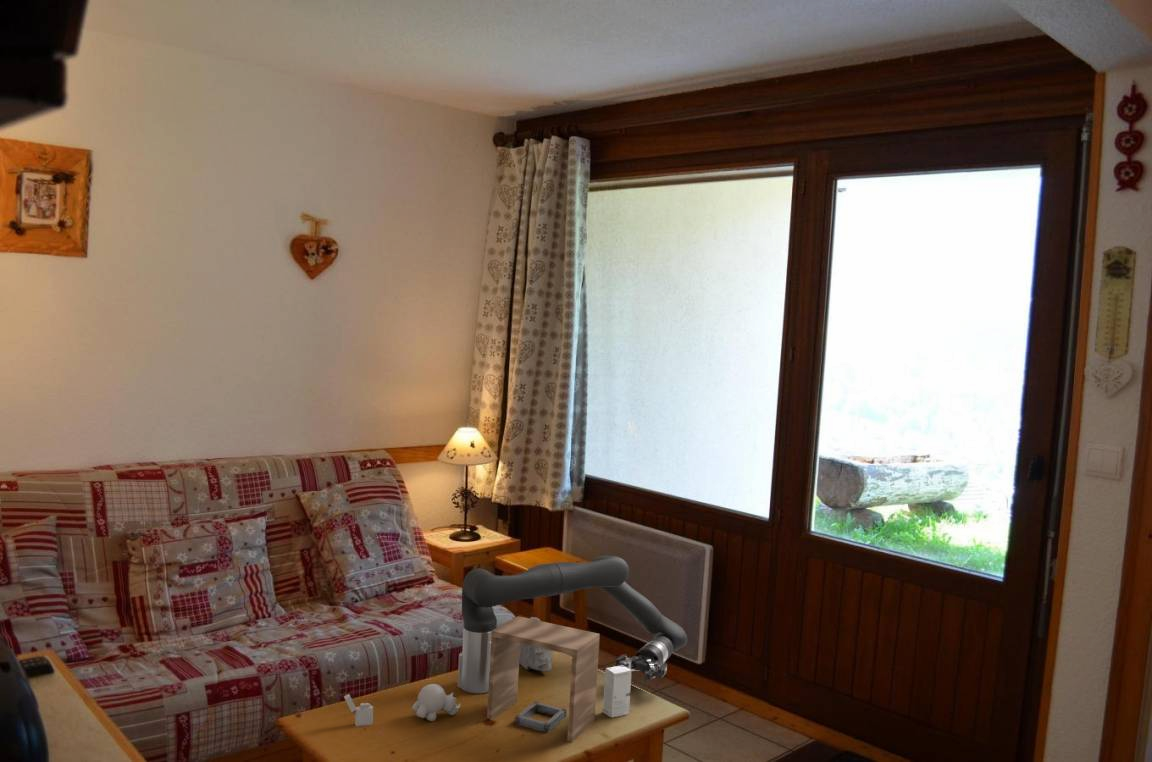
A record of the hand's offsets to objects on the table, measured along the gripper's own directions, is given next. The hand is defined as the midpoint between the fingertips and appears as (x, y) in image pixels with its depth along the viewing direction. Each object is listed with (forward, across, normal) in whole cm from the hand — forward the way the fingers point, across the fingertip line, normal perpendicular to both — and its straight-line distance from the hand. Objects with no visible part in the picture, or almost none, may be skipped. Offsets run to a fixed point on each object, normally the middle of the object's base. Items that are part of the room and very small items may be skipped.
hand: (632, 674), depth 249 cm
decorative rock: (-5, -34, +7) cm, 35 cm away
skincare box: (+11, 0, +7) cm, 13 cm away
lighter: (+53, -53, +7) cm, 75 cm away
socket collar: (+26, -15, +7) cm, 31 cm away
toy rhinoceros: (+38, -39, +7) cm, 55 cm away
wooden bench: (+26, -15, +7) cm, 31 cm away
